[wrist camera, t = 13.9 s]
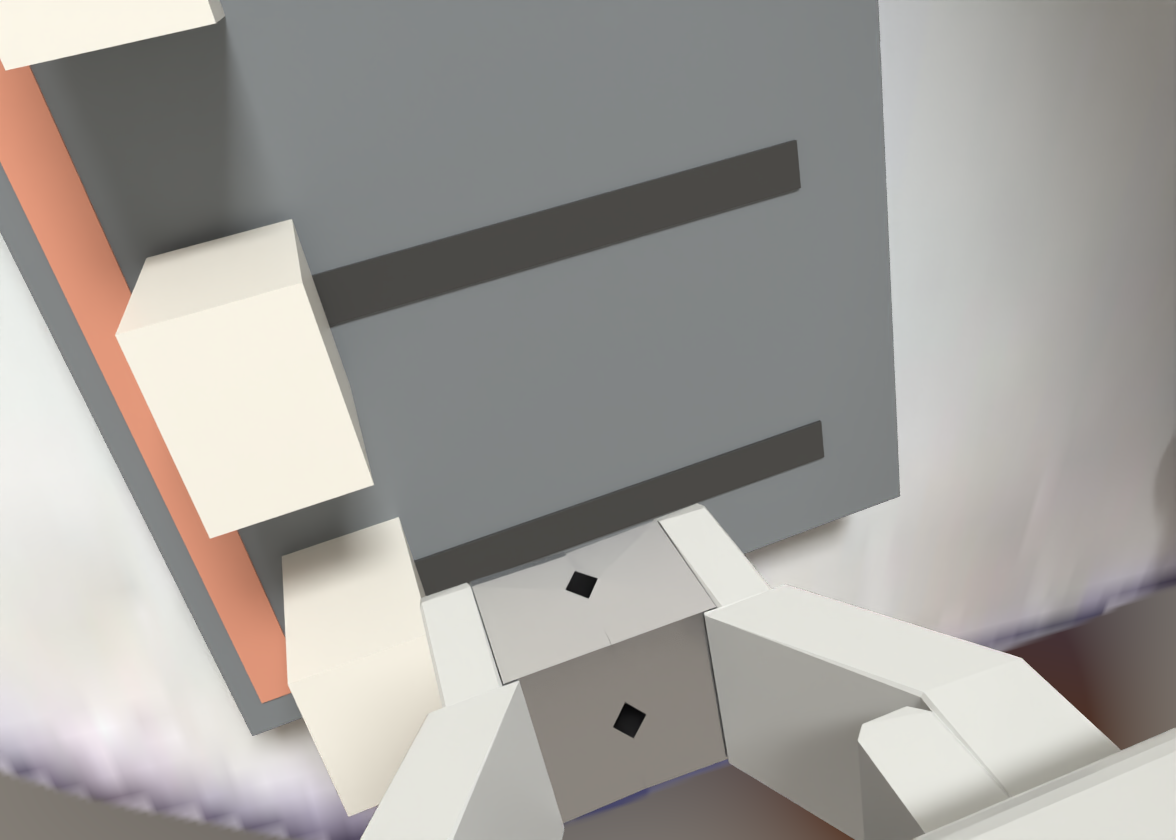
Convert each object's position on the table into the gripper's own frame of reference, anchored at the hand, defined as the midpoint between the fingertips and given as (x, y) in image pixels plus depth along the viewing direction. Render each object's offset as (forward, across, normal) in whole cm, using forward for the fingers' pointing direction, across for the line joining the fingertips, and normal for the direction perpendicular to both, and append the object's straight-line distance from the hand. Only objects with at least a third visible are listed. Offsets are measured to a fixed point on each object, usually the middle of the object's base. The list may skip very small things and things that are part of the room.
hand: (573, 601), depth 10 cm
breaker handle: (+13, +4, 0) cm, 14 cm away
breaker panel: (+17, -2, 0) cm, 17 cm away
